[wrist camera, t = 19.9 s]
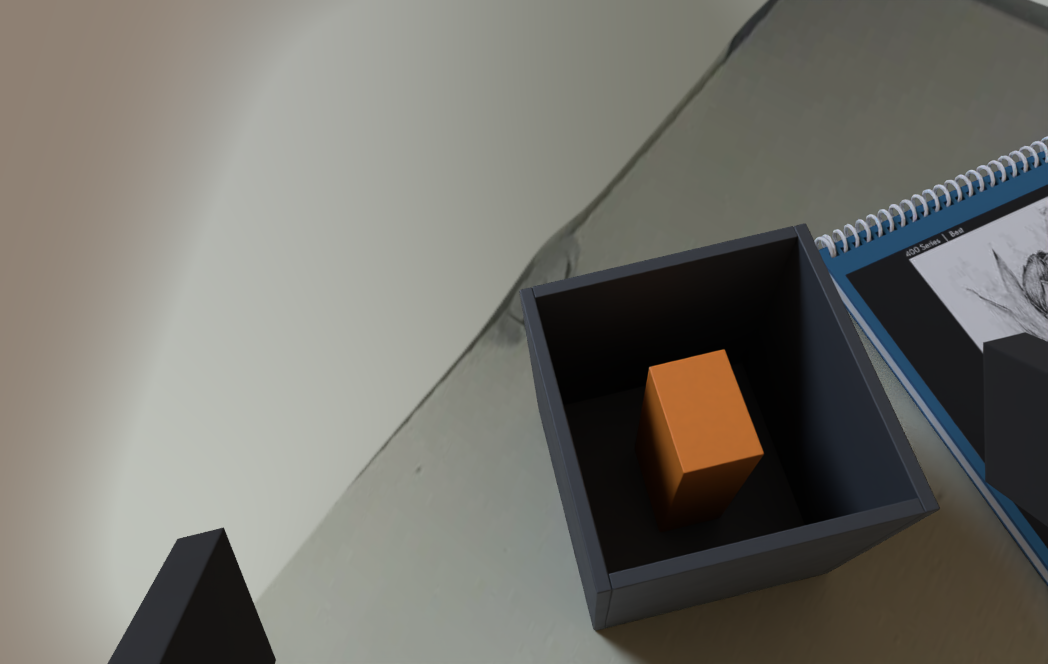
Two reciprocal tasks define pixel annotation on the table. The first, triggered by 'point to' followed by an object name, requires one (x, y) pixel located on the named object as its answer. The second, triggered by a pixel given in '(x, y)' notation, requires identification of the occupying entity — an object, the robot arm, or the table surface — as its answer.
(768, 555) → the bin
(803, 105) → the table surface
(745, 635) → the table surface
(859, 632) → the table surface
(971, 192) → the sketchbook
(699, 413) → the block
